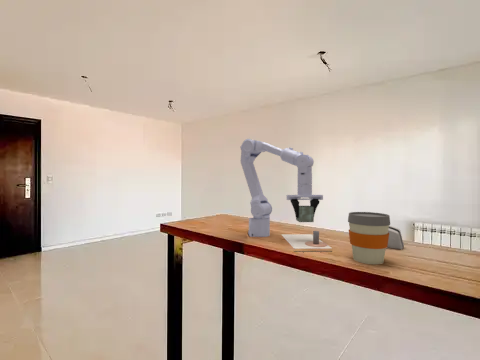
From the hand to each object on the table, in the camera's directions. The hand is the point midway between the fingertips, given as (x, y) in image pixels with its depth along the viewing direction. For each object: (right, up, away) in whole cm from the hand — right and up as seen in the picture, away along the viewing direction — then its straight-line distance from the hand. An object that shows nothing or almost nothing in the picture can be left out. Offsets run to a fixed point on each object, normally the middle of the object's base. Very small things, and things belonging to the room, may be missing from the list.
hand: (304, 217), depth 110 cm
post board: (0, -11, 0) cm, 11 cm away
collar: (0, -1, 0) cm, 1 cm away
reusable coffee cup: (+16, -11, -21) cm, 29 cm away
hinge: (+29, -11, -2) cm, 31 cm away
